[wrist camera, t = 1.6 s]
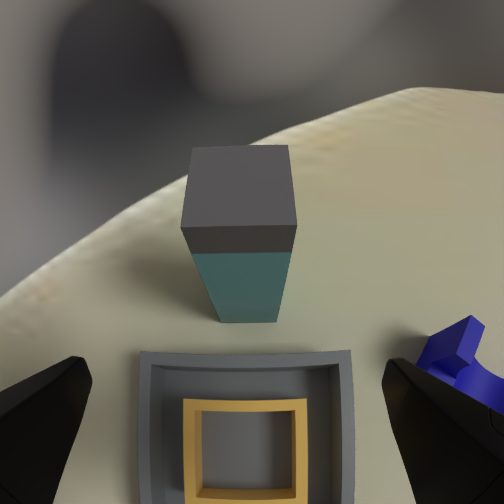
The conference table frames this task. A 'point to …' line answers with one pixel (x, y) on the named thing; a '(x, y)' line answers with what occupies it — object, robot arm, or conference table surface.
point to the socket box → (246, 428)
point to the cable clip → (462, 363)
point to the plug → (241, 227)
